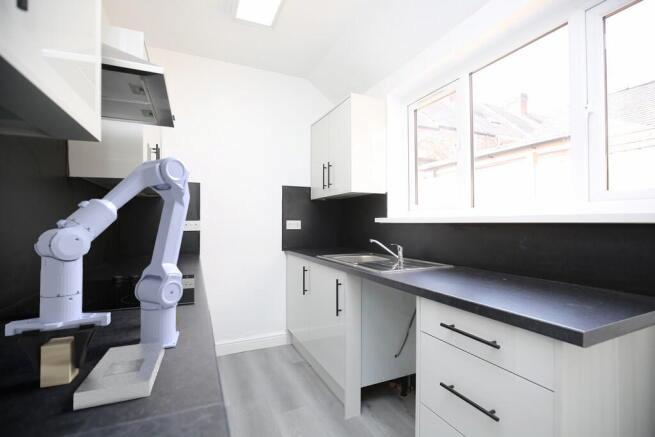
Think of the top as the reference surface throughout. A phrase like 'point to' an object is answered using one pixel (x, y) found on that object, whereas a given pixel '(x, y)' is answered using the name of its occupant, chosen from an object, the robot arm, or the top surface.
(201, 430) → the top surface
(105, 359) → the board with rectangular recess
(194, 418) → the top surface
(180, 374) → the top surface
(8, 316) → the top surface
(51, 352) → the peg
